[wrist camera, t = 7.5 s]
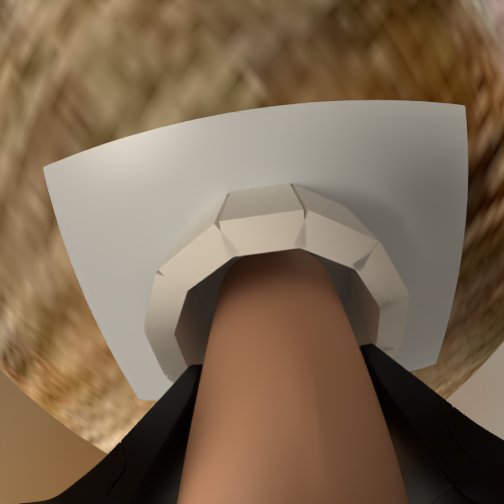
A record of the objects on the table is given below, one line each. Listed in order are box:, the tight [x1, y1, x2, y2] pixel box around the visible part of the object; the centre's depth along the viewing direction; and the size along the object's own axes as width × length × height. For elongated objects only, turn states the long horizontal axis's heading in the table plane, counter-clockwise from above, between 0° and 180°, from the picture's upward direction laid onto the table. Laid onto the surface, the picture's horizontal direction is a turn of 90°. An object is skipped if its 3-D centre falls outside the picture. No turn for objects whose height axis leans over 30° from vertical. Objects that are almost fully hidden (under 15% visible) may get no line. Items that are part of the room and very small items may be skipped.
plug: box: [177, 249, 409, 504], centre depth 7 cm, size 4×4×10 cm
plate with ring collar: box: [43, 100, 468, 401], centre depth 11 cm, size 18×14×4 cm
